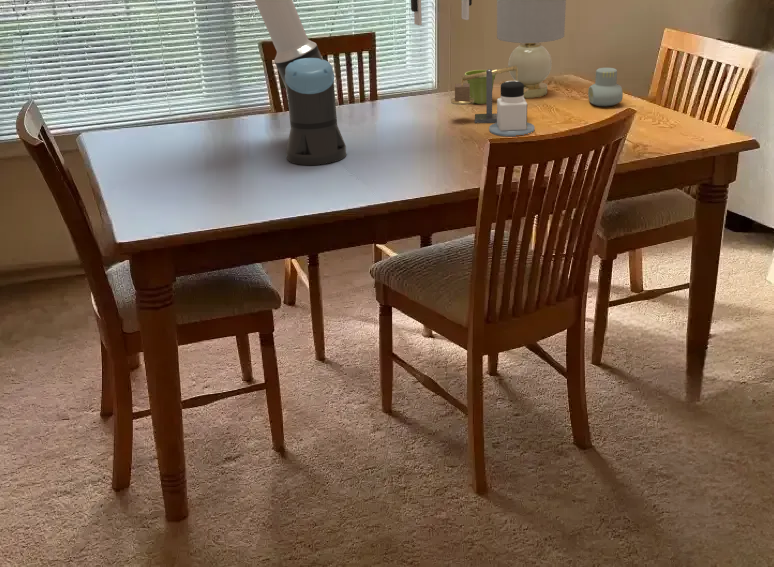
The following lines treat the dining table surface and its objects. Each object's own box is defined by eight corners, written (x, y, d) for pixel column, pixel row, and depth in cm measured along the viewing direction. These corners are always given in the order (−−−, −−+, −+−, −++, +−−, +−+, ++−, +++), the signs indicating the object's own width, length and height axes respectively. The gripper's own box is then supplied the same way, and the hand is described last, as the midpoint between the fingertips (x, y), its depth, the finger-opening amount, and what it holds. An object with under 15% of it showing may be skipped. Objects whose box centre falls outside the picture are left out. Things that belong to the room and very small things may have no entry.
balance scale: (450, 123, 239) (449, 69, 232) (451, 117, 245) (450, 64, 238) (528, 122, 236) (529, 67, 230) (527, 116, 242) (528, 62, 235)
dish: (503, 139, 223) (503, 136, 223) (481, 128, 233) (481, 125, 233) (543, 131, 227) (543, 128, 227) (519, 121, 237) (519, 118, 237)
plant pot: (461, 99, 262) (461, 71, 259) (491, 96, 264) (491, 68, 260) (469, 107, 254) (469, 77, 250) (500, 104, 255) (500, 74, 252)
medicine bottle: (526, 130, 227) (527, 84, 222) (499, 131, 227) (500, 86, 222) (523, 122, 233) (524, 78, 228) (496, 124, 233) (497, 79, 228)
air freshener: (623, 108, 244) (626, 73, 240) (594, 109, 245) (596, 74, 240) (614, 99, 254) (616, 64, 250) (586, 100, 254) (588, 66, 250)
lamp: (576, 95, 261) (581, -29, 245) (520, 105, 253) (523, -21, 237) (536, 83, 277) (539, -34, 261) (483, 92, 269) (483, -27, 254)
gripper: (401, -63, 205) (403, 29, 214) (492, -70, 214) (491, 18, 223) (388, -64, 211) (391, 24, 221) (477, -71, 220) (477, 15, 229)
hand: (441, 22), depth 222 cm, fingers open, 13 cm apart
